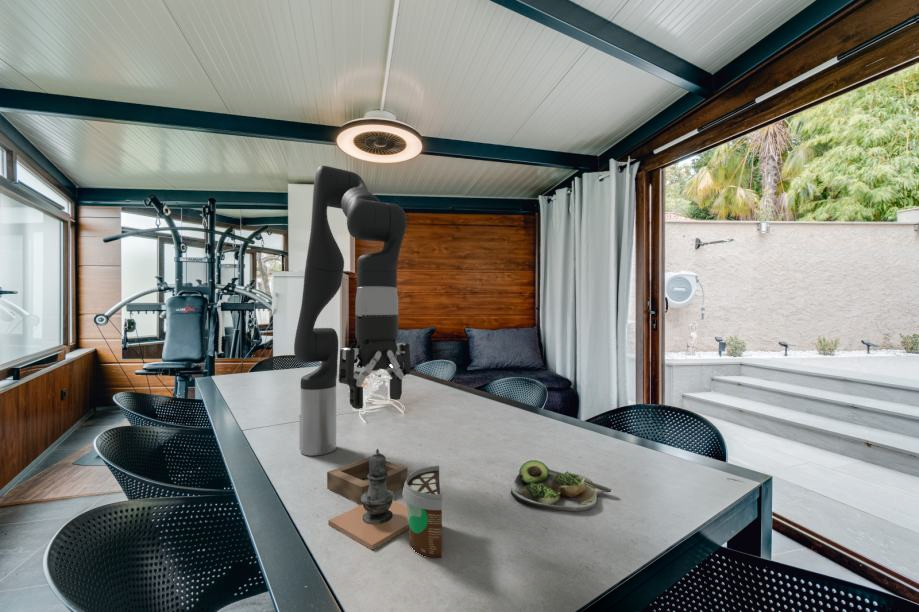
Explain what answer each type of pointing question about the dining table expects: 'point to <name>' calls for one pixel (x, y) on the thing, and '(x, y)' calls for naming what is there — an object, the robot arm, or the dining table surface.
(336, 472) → the walnut socket block
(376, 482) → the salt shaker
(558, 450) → the dining table surface
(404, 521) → the terracotta tile
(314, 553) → the dining table surface
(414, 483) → the food container
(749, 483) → the dining table surface
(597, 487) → the avocado toast plate
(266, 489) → the dining table surface
